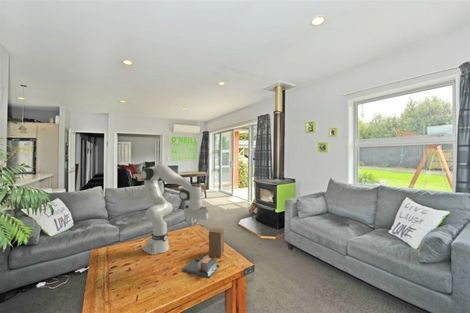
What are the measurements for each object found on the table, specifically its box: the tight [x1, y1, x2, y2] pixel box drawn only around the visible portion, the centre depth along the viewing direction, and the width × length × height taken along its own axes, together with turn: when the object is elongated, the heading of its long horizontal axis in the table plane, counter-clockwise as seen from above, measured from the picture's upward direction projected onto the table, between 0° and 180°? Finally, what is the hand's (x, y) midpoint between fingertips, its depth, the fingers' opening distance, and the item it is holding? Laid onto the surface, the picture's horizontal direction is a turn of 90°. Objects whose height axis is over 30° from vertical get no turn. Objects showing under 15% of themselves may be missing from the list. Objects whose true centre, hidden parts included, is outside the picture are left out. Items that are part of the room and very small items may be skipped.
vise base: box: [182, 257, 220, 279], centre depth 146 cm, size 22×14×8 cm, turn 67°
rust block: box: [202, 257, 213, 271], centre depth 144 cm, size 4×7×6 cm, turn 157°
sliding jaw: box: [198, 254, 210, 272], centre depth 145 cm, size 2×11×6 cm, turn 157°
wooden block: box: [208, 226, 225, 258], centre depth 167 cm, size 10×10×20 cm
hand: (196, 224), depth 154 cm, fingers closed
